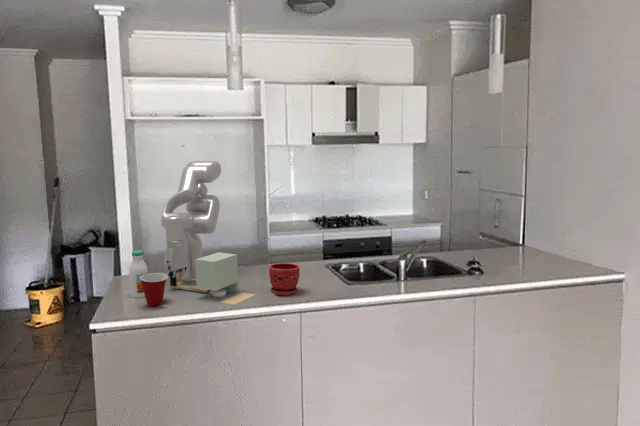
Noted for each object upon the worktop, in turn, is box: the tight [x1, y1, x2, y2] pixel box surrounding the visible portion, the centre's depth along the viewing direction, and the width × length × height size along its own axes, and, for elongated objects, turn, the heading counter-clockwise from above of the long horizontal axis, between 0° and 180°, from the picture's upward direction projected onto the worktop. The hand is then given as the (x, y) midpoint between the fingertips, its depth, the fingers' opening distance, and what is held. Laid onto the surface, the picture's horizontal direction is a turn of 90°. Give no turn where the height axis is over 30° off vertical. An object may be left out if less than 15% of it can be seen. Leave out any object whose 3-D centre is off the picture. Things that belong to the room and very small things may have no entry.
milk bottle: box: [128, 249, 149, 298], centre depth 229 cm, size 8×8×20 cm
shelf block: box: [195, 252, 240, 293], centre depth 227 cm, size 15×10×18 cm, turn 151°
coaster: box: [212, 289, 226, 297], centre depth 227 cm, size 6×6×2 cm
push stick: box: [169, 270, 212, 293], centre depth 234 cm, size 4×20×7 cm, turn 61°
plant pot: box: [268, 262, 301, 296], centre depth 233 cm, size 13×13×12 cm
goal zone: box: [220, 292, 255, 306], centre depth 223 cm, size 15×7×1 cm, turn 151°
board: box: [164, 283, 242, 303], centre depth 233 cm, size 15×36×1 cm, turn 61°
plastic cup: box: [140, 272, 169, 308], centre depth 218 cm, size 11×11×12 cm
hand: (177, 283), depth 238 cm, fingers closed on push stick, 4 cm apart
